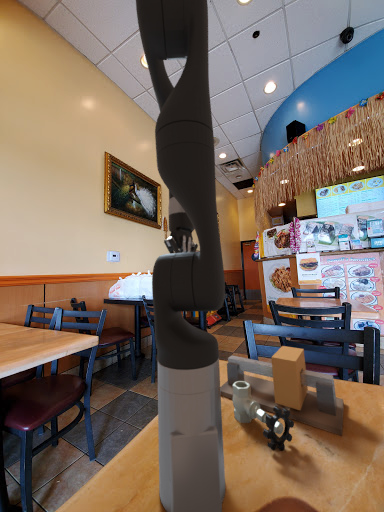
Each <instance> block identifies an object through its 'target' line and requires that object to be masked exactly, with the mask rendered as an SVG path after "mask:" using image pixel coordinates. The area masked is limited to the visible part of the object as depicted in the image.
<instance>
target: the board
mask: <svg viewBox="0 0 384 512" xmlns="http://www.w3.org/2000/svg"><path fill="white" fill-rule="evenodd" d="M244 381H245V382H247V383H249V384H250V385H251V394H250V395H251V397H252V400H255V401H256V402H258V403H259V405H260V409H262V410H264V411H265V412H270V413H272V414H274V415H275V414H276V413H275V411H273V408H274V407H275V406H277V407H279V408H280V409H281V410H282V408H286V409H288V410H289V411H290V416H289V417H288V418H289V419H291V420H293V421H297V422H299V423H303V424H306V425H307V426H311V427H315V428H317V429H320V430H324V431H326V432H329V433H332V434H334V435H338V436H343V428H344V426H343V424H344V423H343V422H344V406H345V405H344V402H345V401H344V398H340V397H337V396H336V403H337V410H336V416H333V415H330V414H327V413H323V412H320V411H318V402H317V393H316V391H312V390H308V391H307V394H306V397H305V399H304V402H303V405H302V407H301V410H297V409H293V408H290V407H287V406H284V405H280V404H277V403H275V395H274V382H273V380H272V381H271V380H269V379H264V378H260V377H256V376H252V375H248V374H245V373H244ZM220 392H221V397H225V398H229V399H231V400H233V394H234V393H233V386H232V385H228V380H227V381H225V383H223V384H222V385H220ZM283 412H284V411H283V410H282V414H283Z"/></svg>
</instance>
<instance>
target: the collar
mask: <svg viewBox="0 0 384 512" xmlns="http://www.w3.org/2000/svg"><path fill="white" fill-rule="evenodd" d="M271 363H272V370H273V378H272V381H273V382H274V395H275V403H277V404H280V405H284V406H287V407H290V408H293V409H297V410H301V407H302V405H303V402H304V399H305V397H306V394H307V391H308V388H309V386H305V385H301V377H300V371H301V369H303V370H307V368H306V367H307V366H306V360H305V349H304V348H299V347H292V346H285V345H282V346H281V347H279V348H278V350H277V351H276V352H274V354H273V355H272V356H271Z"/></svg>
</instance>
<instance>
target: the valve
mask: <svg viewBox="0 0 384 512" xmlns="http://www.w3.org/2000/svg"><path fill="white" fill-rule="evenodd" d="M233 393H234V394H233V399H232V406H233V408H234V409H233V415H234V416H233V417H234V419H235V420H236V421H237V422H238V423H240V424H250V423H251V422H252V420H255V419H257V420H259V421H260V422H261V423H262V424H265V426H266V427H267V428H268V429H267V428H264V429H263V430H262V436H263V437H265V438H266V439H267V440H270V441H267V447H268V448H269V449H270V450H271V451H276V450H277V449H278V450H279V451H281V452H284V451H285V449H286V446H285V442H286V441H288V442H289V443H290V442H291V441H292V440H293V434H291V433H290V430H291V429H293V428H294V426H295V420H293V419H290V418H288V417H289V416H290V411H289V410H288V409H286V408H282V410H283V411H284V412H283V414H282V410H281V409H280V408H279V407H277V406H275V407H274V408H273V411H275V413H276V414H275V413H274V415H271V414H269V413H268V412H267V411H266V410H263V409H260V405H259V403H258V402H256V401H255V400H252V397H251V395H250V394H251V385H250V384H249V383H247V382H245V381H237V382H235V383H234V384H233ZM281 419H282V420H283V423H284V424H283V423H282V422H280V420H281ZM277 434H278V435H277ZM279 435H281V436H279Z"/></svg>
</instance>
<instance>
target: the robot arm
mask: <svg viewBox="0 0 384 512" xmlns="http://www.w3.org/2000/svg"><path fill="white" fill-rule="evenodd" d="M135 8H136V9H135V10H136V16H137V17H136V18H137V24H138V30H139V34H140V40H141V45H142V48H143V53H144V58H145V61H146V65H147V69H148V73H149V76H150V80H151V85H152V88H153V91H154V94H155V99H156V102H157V105H158V110H159V114H158V116H157V119H156V123H155V129H154V135H155V136H154V137H155V138H154V141H155V154H156V156H155V157H156V167H157V171H158V174H159V177H160V178H161V180H162V182H163V183H164V185H165V186H166V187H167V189H168V209H167V210H168V213H167V214H168V230H169V232H170V234H169V237H168V238H167V239H164V240H163V243H164V245H165V247H166V248H167V251H168V252H169V253H164V254H161V255H159V256H158V257H157V258H156V259H155V262H154V265H153V269H152V277H151V289H152V290H151V291H152V305H153V306H152V307H153V319H154V321H153V323H154V340H155V345H156V353H157V355H156V356H157V417H158V420H157V421H158V422H157V423H158V425H157V426H158V431H157V432H158V467H159V468H158V473H159V474H158V476H159V477H158V479H159V480H158V484H159V493H158V494H159V499H160V502H161V505H162V507H163V508H164V509H165V511H166V512H223V502H224V500H225V495H226V476H225V475H226V473H225V472H226V471H225V455H224V439H223V438H224V437H223V436H224V435H223V434H224V433H223V416H222V415H223V414H222V395H221V392H220V387H221V373H220V372H221V371H220V355H219V354H220V352H219V342H218V339H217V337H215V335H213V334H212V333H210V332H207V331H206V330H204V329H203V330H202V329H200V328H198V327H196V326H194V325H192V324H191V323H190V322H188V321H187V320H186V319H185V318H184V317H183V314H182V312H186V313H187V312H215V311H218V310H221V308H222V307H223V305H224V303H225V298H226V297H225V296H226V295H225V294H226V280H225V269H224V262H223V259H224V258H223V254H222V253H223V252H222V251H223V250H222V244H221V236H220V235H221V233H220V227H219V219H218V217H219V216H218V207H217V191H216V189H217V188H216V187H217V186H216V152H215V138H214V137H215V136H214V126H213V117H212V115H213V114H212V107H211V96H210V95H211V93H210V80H209V79H210V78H209V76H210V75H209V64H210V63H209V7H208V0H135ZM172 60H173V61H174V60H175V61H177V60H186V61H185V64H184V67H183V70H182V73H181V75H180V76H179V79H178V81H177V82H176V84H175V86H174V85H173V83H172V82H171V80H170V77H169V75H168V73H167V70H166V67H165V62H164V61H172ZM194 231H195V234H196V236H197V240H198V243H199V244H197V243H195V242H194V241H193V240H194V238H193V237H194V236H193V234H192V233H193V232H194ZM198 247H199V250H198ZM197 250H198V251H197Z"/></svg>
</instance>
